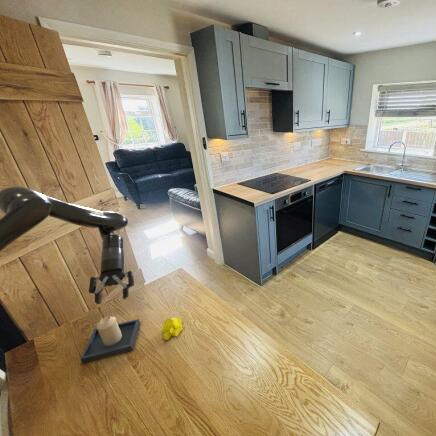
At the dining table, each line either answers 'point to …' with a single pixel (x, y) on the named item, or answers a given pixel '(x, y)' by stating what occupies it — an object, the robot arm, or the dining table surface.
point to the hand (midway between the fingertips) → (112, 301)
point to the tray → (99, 350)
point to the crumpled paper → (171, 328)
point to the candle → (109, 331)
